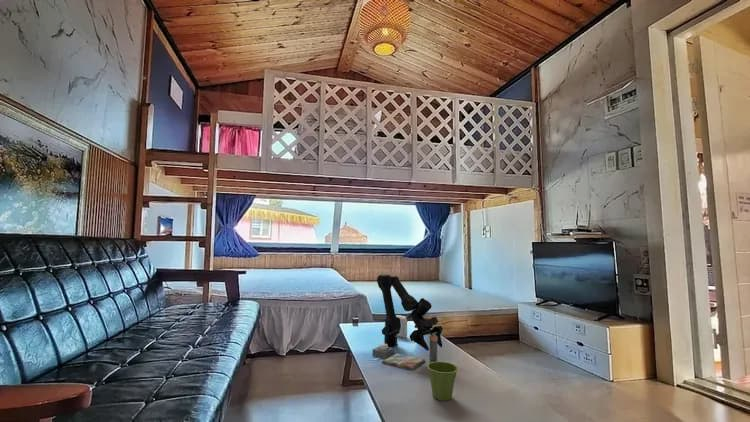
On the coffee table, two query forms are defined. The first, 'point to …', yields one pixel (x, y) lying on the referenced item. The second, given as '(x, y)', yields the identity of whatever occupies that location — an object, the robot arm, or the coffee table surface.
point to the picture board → (403, 361)
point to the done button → (383, 347)
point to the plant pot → (442, 379)
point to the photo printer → (402, 326)
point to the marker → (433, 348)
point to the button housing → (383, 352)
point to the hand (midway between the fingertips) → (435, 348)
